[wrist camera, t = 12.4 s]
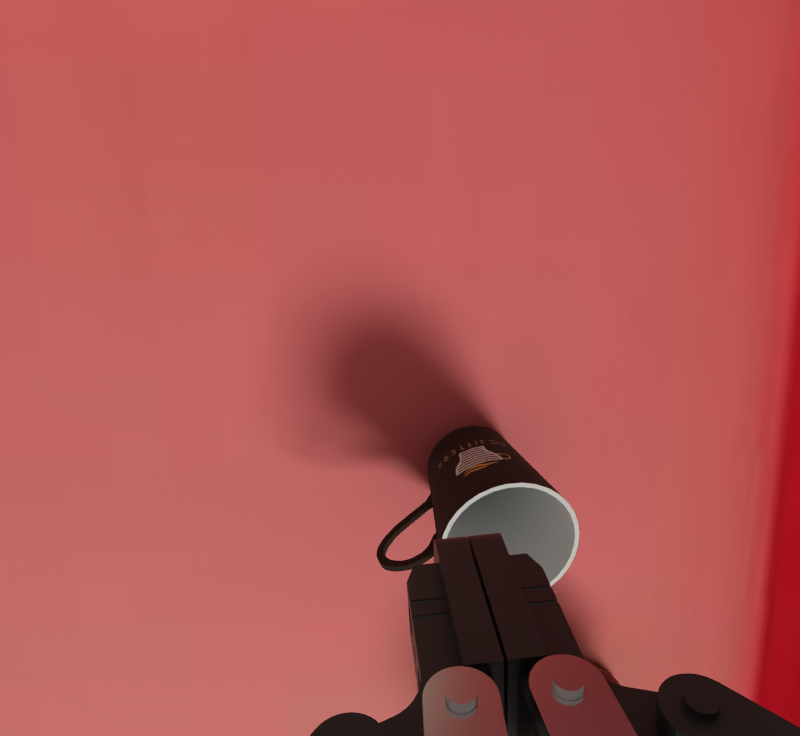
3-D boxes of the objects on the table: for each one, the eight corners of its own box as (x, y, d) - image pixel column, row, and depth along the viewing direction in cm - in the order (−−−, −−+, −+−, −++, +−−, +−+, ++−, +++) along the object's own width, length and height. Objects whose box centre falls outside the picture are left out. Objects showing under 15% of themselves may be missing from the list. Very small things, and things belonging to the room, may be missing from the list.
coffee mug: (537, 416, 47) (594, 487, 38) (513, 517, 50) (561, 606, 40) (381, 404, 45) (401, 475, 36) (365, 510, 48) (380, 601, 38)
